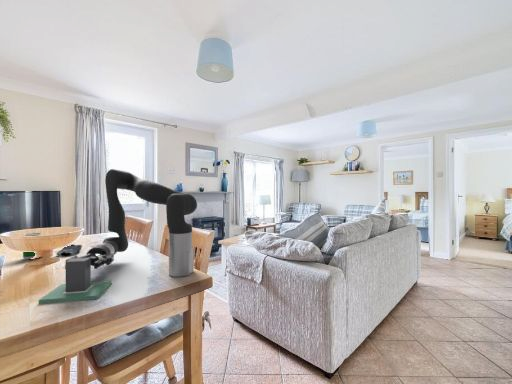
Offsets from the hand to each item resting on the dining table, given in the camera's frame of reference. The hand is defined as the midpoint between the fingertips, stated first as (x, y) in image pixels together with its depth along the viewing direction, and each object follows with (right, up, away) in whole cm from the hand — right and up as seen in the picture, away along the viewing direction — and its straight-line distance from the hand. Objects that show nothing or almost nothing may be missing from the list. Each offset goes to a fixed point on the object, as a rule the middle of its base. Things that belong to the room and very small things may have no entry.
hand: (81, 266), depth 82 cm
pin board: (0, -8, -2) cm, 8 cm away
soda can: (-51, -7, +37) cm, 63 cm away
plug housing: (0, -7, -2) cm, 7 cm away
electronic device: (-40, -8, +47) cm, 62 cm away
